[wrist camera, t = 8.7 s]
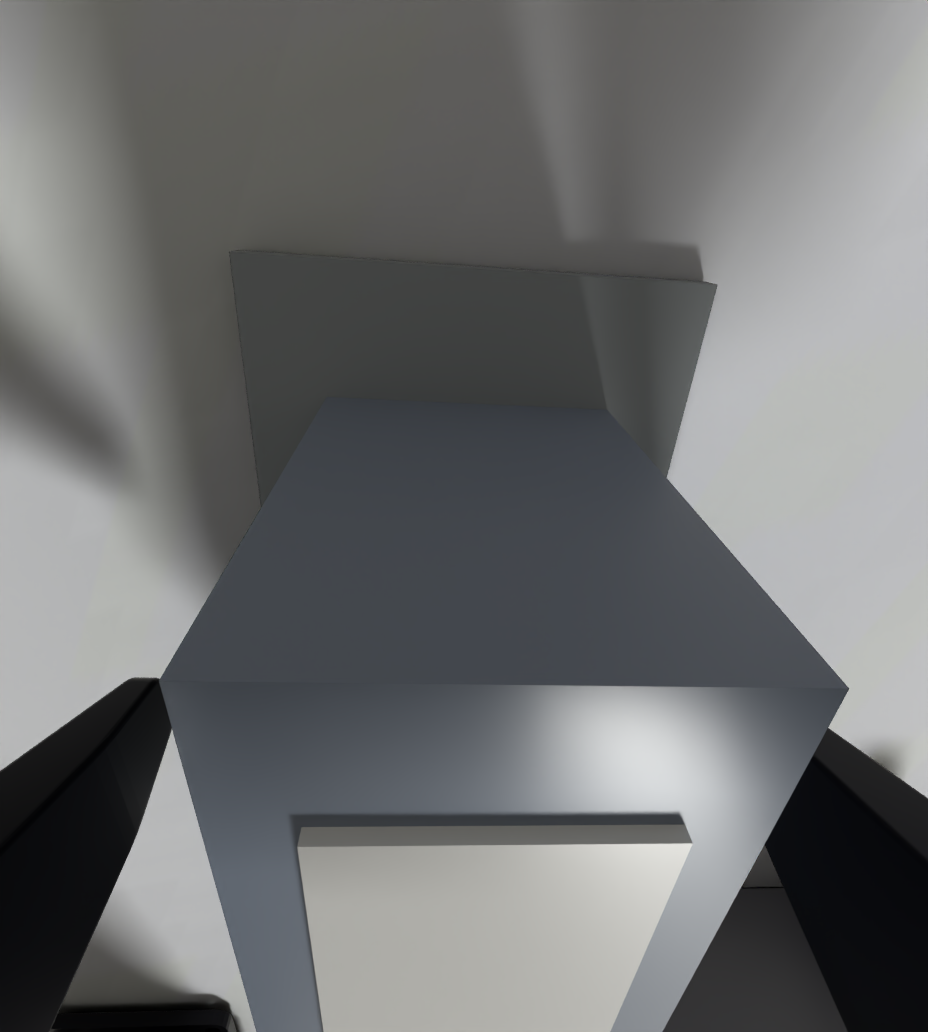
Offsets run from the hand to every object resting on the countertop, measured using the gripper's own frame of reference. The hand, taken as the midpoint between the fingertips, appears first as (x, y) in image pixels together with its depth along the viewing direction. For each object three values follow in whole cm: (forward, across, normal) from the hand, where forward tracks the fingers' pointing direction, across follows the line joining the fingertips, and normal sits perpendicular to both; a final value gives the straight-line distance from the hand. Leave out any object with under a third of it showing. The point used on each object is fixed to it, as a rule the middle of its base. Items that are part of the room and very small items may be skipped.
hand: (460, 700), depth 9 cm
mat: (+3, 0, 0) cm, 3 cm away
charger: (+2, 0, 0) cm, 2 cm away
